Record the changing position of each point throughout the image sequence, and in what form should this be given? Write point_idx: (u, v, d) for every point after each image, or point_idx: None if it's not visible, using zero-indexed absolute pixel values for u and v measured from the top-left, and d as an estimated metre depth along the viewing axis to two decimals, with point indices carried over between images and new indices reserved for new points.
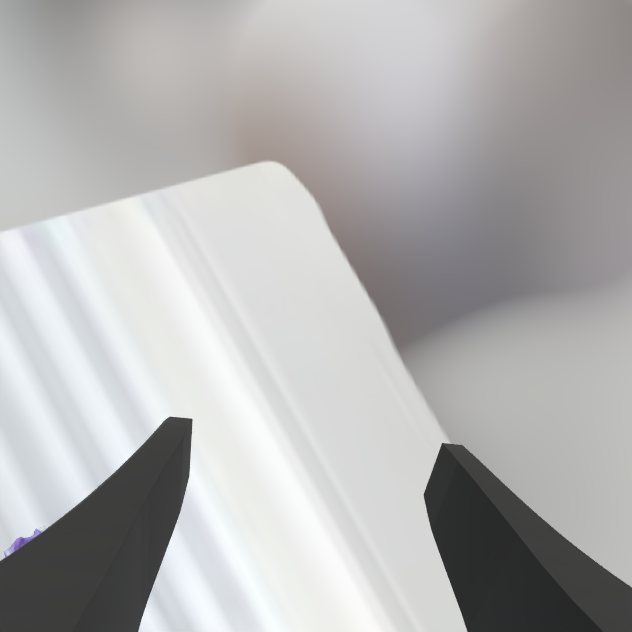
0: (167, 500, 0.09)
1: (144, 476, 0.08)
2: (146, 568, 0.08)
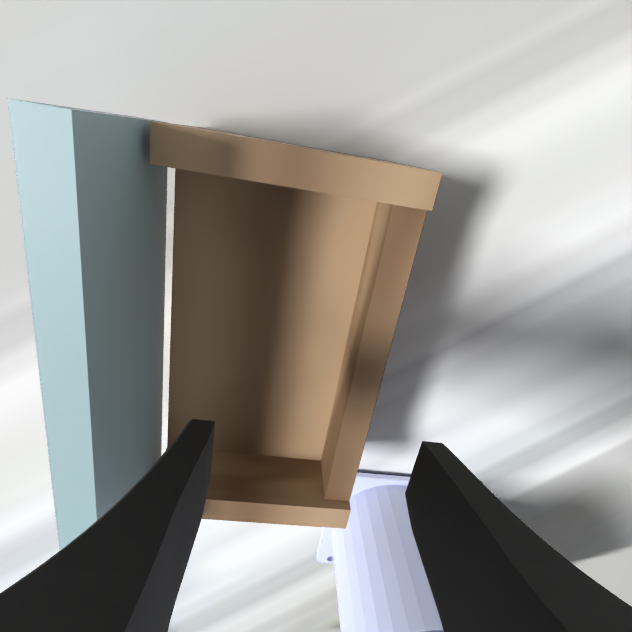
0: (194, 502, 0.09)
1: (174, 478, 0.08)
2: (175, 570, 0.09)
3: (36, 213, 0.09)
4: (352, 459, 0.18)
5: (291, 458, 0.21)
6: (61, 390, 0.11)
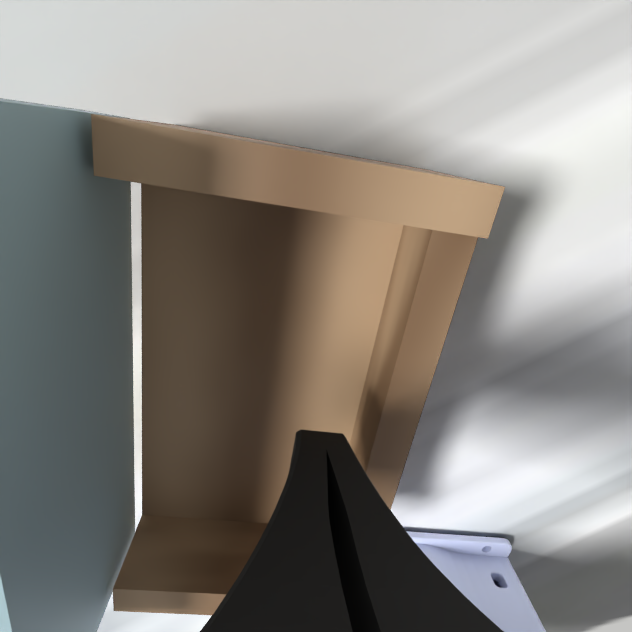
0: None
1: (315, 490, 0.09)
2: None
3: None
4: None
5: None
6: None
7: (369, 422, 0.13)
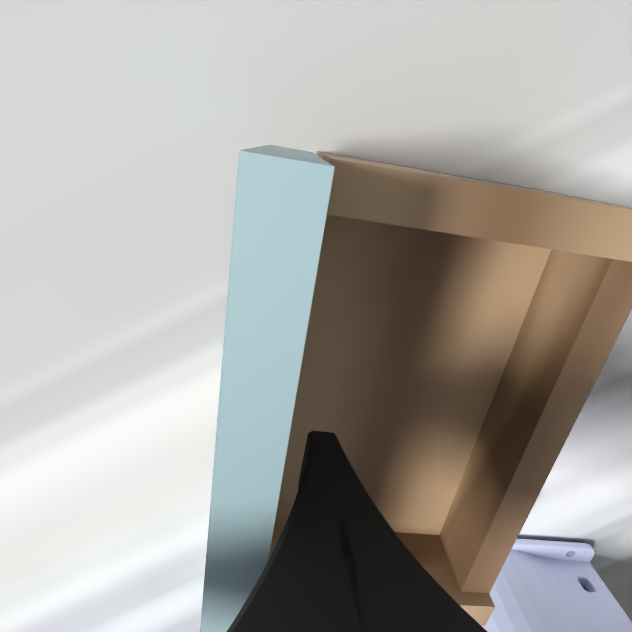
0: None
1: (330, 491, 0.09)
2: None
3: (248, 316, 0.06)
4: (501, 549, 0.15)
5: (406, 533, 0.18)
6: (234, 539, 0.08)
7: (510, 436, 0.14)
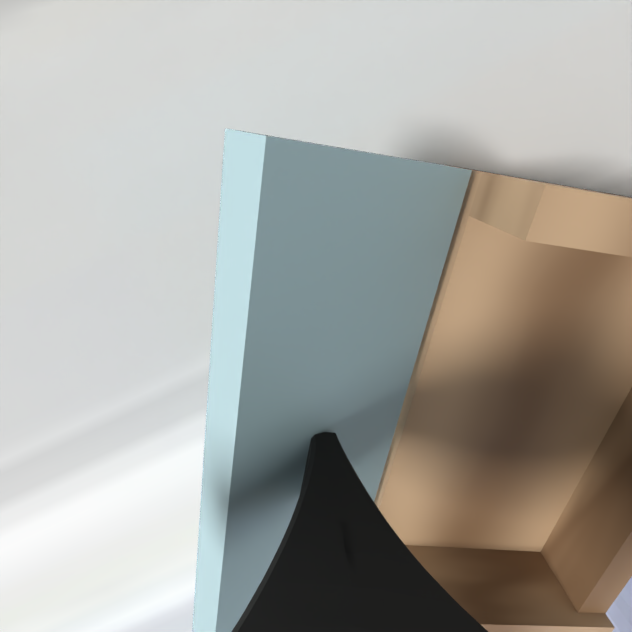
0: None
1: (333, 491, 0.09)
2: None
3: (226, 255, 0.08)
4: (626, 570, 0.15)
5: (509, 551, 0.18)
6: (216, 448, 0.09)
7: None
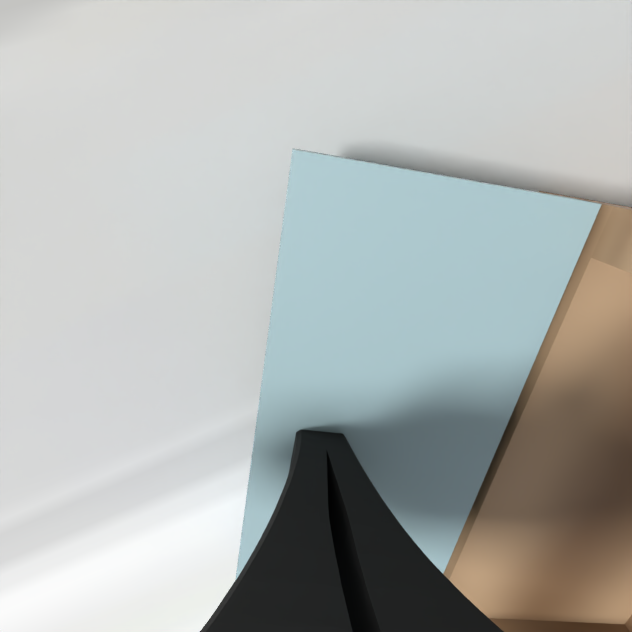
0: None
1: (315, 490, 0.09)
2: None
3: None
4: None
5: (590, 624, 0.15)
6: None
7: None
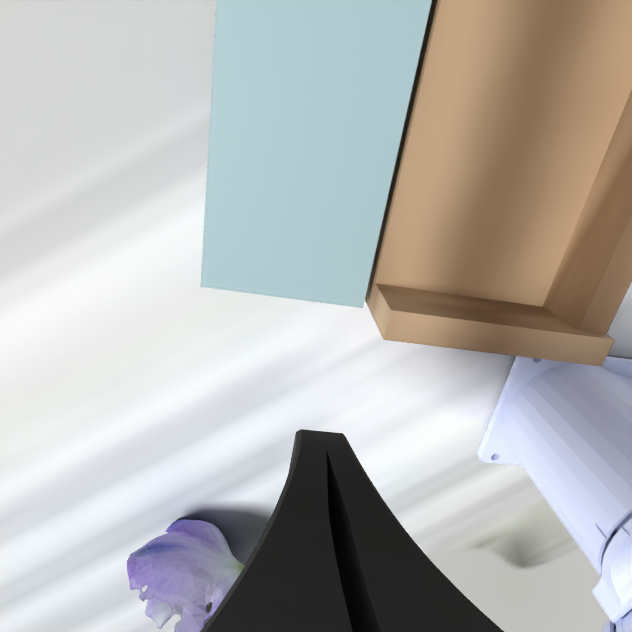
0: None
1: (315, 490, 0.09)
2: None
3: None
4: (626, 273, 0.15)
5: (511, 302, 0.18)
6: None
7: None
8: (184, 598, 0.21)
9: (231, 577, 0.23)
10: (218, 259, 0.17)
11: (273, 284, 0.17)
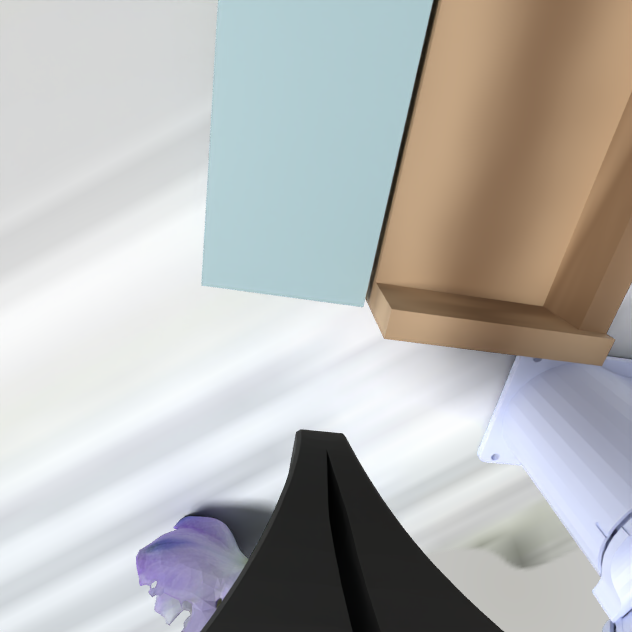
0: None
1: (315, 490, 0.09)
2: None
3: None
4: (626, 273, 0.15)
5: (512, 301, 0.18)
6: None
7: None
8: (194, 594, 0.21)
9: None
10: (219, 258, 0.17)
11: (274, 283, 0.17)
